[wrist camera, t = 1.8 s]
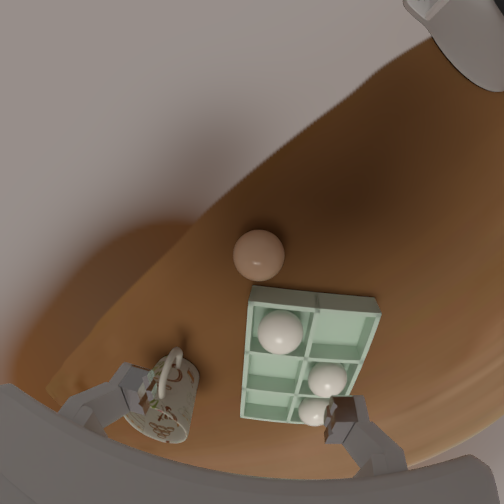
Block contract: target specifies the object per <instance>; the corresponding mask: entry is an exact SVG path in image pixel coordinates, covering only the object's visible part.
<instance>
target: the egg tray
mask: <svg viewBox="0 0 504 504" xmlns="http://www.w3.org/2000/svg"><path fill="white" fill-rule="evenodd" d="M274 310H287V311H290V312H292V313H294V314H295V315H296V316H297V317H298V318H299V319H300V321H301V323H302V325H303V338H302V341H301V343H300V345H299V346H298V347H297V348H296V349H295V350H294V351H292V352H290V353H288V354H284V355H276V354H272V353H270V352H268V351H267V350H265V349H264V348H263V347H262V345H261V344H260V342H259V340H258V335H257V330H258V325H259V323H260V321H261V319H262V318H263V317H264V316H265V315H266V314H268V313H269V312H271V311H274ZM381 314H382V313H381V311H380V308H379V306H378V304H377V302H376V300H375V298H374V297H362V296H350V295H339V294H329V293H319V292H309V291H299V290H290V289H281V288H272V287H264V286H256V285H253V286H252V289H251V293H250V297H249V300H248V313H247V327H246V341H245V354H244V368H243V382H242V396H241V410H240V417H241V418H248V419H255V420H263V421H272V422H282V423H295V424H305V423H304V422H303V421H302V420H301V419H300V417H299V414H298V407H299V404H300V402H301V401H302V400H303V399H304V398H305V397H313V398H322V397H319V396H317V395H315V394H314V393H313V392H312V391H311V390H310V388H309V385H308V375H309V372H310V370H311V369H312V367H313V366H314V365H315V364H317V363H318V362H332V363H340V364H341V365H343V367H344V368H345V370H346V373H347V383H346V386H345V388H344V389H343V390H342V391H341V392H340V393H339V394H338V395H349V394H350V392H351V389H352V387H353V385H354V383H355V381H356V378H357V376H358V374H359V372H360V369H361V367H362V365H363V362H364V360H365V357H366V355H367V352H368V350H369V347H370V345H371V342H372V339H373V337H374V334H375V331H376V329H377V326H378V323H379V320H380V317H381ZM329 399H330V398H329ZM323 425H324V424H323Z"/></svg>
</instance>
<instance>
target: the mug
mask: <svg viewBox="0 0 504 504" xmlns="http://www.w3.org/2000/svg"><path fill="white" fill-rule="evenodd" d="M182 357H183V352H182V350H181V349H180V348H179V347H175V348H173V349H172V350H171V351H170V353H169V355H168V356H165V357H163V358H161V359H160V361H159V362H158V363H157V364H156V365H155V367H154V368H153V369H152V370H153V371H154V374H155V376H154V378H153V379H154V380H155V381H156V383H157V392H156V396H155V398H154V399H153V400H152V401H150V402H149V404H150V407H149V409H148V411H147V413H146V415H141V414H138V413H135V412H131V411H130V412H129V413H127V414H125V415H124V417H125V419H126V420H127V421H128V422H129V423H130V424H131V425H132V426H133V427H134V428H135V429H137V430H138V431H140V432H141V433H143V434H145V435H147V436H149V437H151V438H153V439H156V440H159V441H162V442H167V443H180V442H183V441H185V440H186V438H187V436H188V433H189V428H190V423H191V418H192V412H193V407H194V402H195V397H196V392H197V387H198V382H199V373H198V370H197V369H196V367H195V366H194V365H193V364H192V363H191V362H189V361H188V360H186V359H184V358H182Z"/></svg>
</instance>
